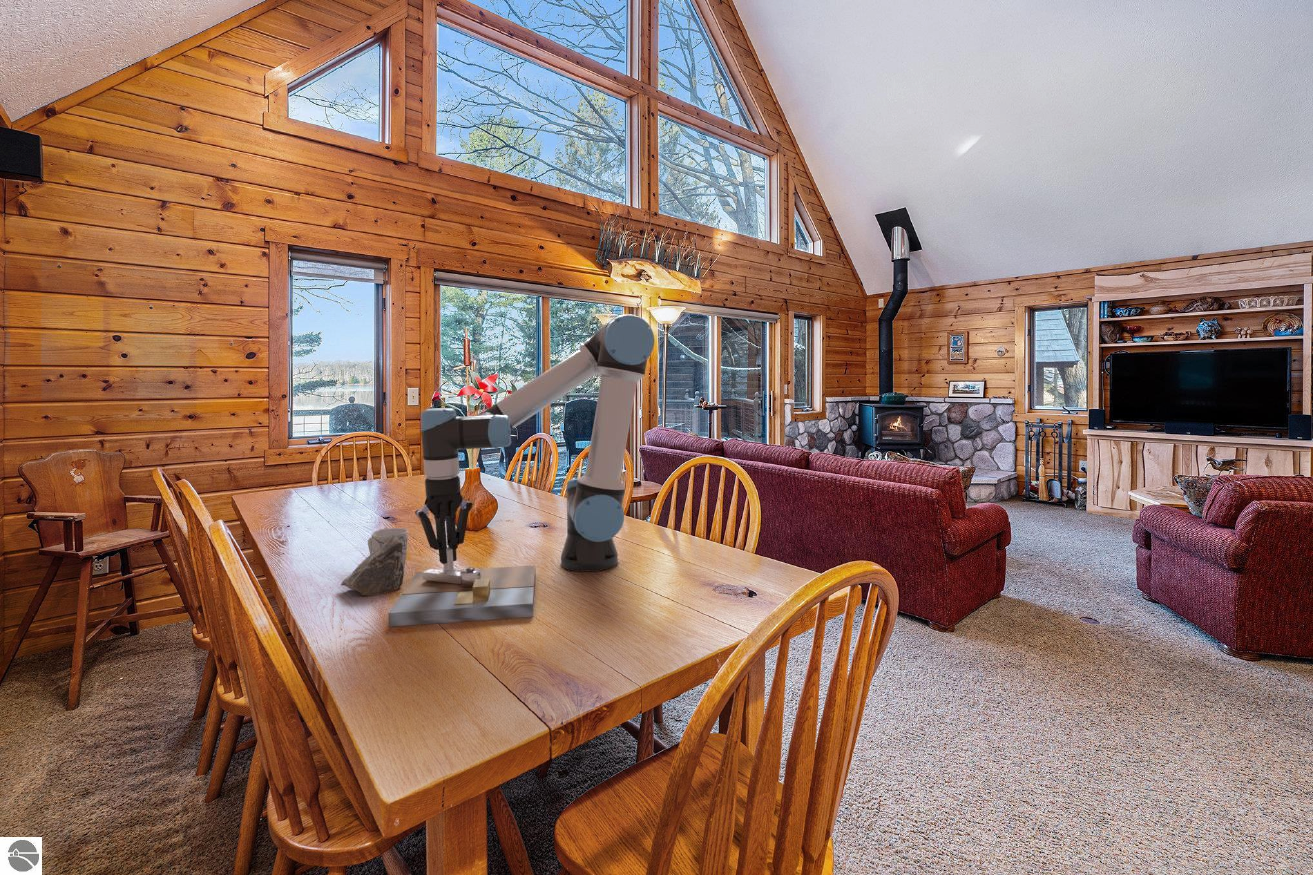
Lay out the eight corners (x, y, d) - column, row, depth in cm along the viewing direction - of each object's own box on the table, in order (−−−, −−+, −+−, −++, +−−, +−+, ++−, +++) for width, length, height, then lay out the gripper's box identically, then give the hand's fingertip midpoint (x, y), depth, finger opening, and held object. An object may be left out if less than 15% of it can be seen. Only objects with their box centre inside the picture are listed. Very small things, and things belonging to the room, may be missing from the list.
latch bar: (484, 581, 135) (484, 566, 134) (474, 587, 130) (473, 572, 130) (432, 575, 138) (432, 561, 138) (420, 582, 134) (420, 567, 133)
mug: (356, 571, 151) (355, 533, 150) (383, 562, 159) (381, 525, 158) (390, 577, 146) (389, 537, 146) (416, 567, 154) (414, 529, 153)
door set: (535, 576, 147) (535, 553, 146) (532, 616, 122) (532, 588, 121) (417, 583, 142) (416, 559, 141) (388, 626, 117) (387, 597, 116)
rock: (347, 592, 130) (367, 526, 136) (337, 592, 136) (357, 528, 141) (400, 601, 138) (418, 538, 143) (389, 601, 143) (406, 540, 149)
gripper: (461, 470, 141) (467, 564, 144) (407, 478, 132) (415, 578, 136) (476, 474, 136) (482, 572, 139) (421, 483, 127) (428, 587, 130)
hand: (449, 575), depth 137 cm, fingers closed
